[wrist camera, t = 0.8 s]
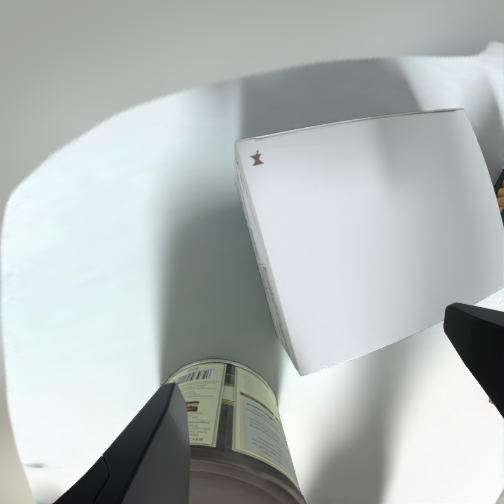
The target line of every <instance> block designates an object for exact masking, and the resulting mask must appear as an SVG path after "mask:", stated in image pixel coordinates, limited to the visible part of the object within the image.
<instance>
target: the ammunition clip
mask: <svg viewBox="0 0 504 504" xmlns="http://www.w3.org/2000/svg"><path fill="white" fill-rule="evenodd" d="M494 192H495V195H496V199H497V202H498V206H499V210H500V214H501V218H502V223H503V227H504V169H503V171H502V173H501V175H500V177H499V179H498V180H497V182H496V184H495V186H494Z"/></svg>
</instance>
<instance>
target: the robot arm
mask: <svg viewBox="0 0 504 504" xmlns="http://www.w3.org/2000/svg"><path fill="white" fill-rule="evenodd" d="M443 328H444V332H445V334H446V335H447V337H448V338H449V340H450V341H451V343H452V345H453V346H454V348H455V349H456V351H457V353H458V354H459V356H460V358H461V359H462V361H463V362H464V364H465V365H466V367H467V368H468V369H469V371H470V372H471V373H472V375H473V376H474V377H475V379H476V380H477V381H478V383H479V384H480V385H481V387H482V388H483V390H484V391H485V392H486V394H487V395H488V397H489V398H490V399H491V401H492V402H493V404H494V405H495V407H496V408H497V409H498V411H499V412H500V414H501V415H502V417H503V418H504V312H502V311H497V310H492V309H487V308H482V307H477V306H473V305H468V304H463V303H458V302H455V303H452V304H450V305H448V306H447V307H446V309H445V316H444V324H443ZM189 475H190V439H189V428H188V415H187V405H186V401H185V399H184V397H183V395H182V393H181V391H180V389H179V387H178V385H177V384H176V383H175V382H172V383H165V384H163V385H161V387H160V388H159V389H158V390H157V391H156V393H155V394H154V395H153V396H152V397H151V398H150V400H149V401H148V402H147V403H146V404H145V406H144V407H143V408H142V409H141V410H140V411H139V413H138V414H137V415H136V416H135V417H134V418H133V420H132V421H131V422H130V423H129V424H128V425H127V427H126V428H125V429H124V430H123V431H122V432H121V434H120V435H119V436H118V437H117V438H116V439H115V441H114V442H113V443H112V444H111V445H110V446H109V448H108V449H107V450H106V451H105V452H104V453H103V456H101V457H100V458H99V459H98V460H97V461H96V462H95V464H94V465H93V466H92V467H91V468H90V469H89V470H88V471H87V472H86V473H85V474H84V475H83V476H82V477H81V478H80V479H79V480H78V481H77V482H76V483H75V484H74V485H73V486H72V487H71V488H70V489H69V490H67V491H66V492H65V493H64V494H63V495H62V496H61V497H60V498H59V499H57V500H56V501H55V502H54V503H53V504H189Z"/></svg>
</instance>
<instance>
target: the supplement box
mask: <svg viewBox="0 0 504 504" xmlns="http://www.w3.org/2000/svg"><path fill="white" fill-rule="evenodd" d="M235 176H236V186H237V190H238V194H239V197H240V201H241V204H242V208H243V212H244V216H245V219H246V223H247V227H248V231H249V234H250V238H251V242H252V246H253V249H254V253H255V257H256V261H257V264H258V268H259V272H260V275H261V279H262V283H263V286H264V290H265V294H266V297H267V301H268V305H269V309H270V312H271V316H272V320H273V323H274V327H275V331H276V334H277V336H278V338H279V340H280V342H281V344H282V345H283V347H284V349H285V351H286V352H287V354H288V356H289V357H290V359H291V361H292V363H293V365H294V366H295V368H296V370H297V371H298V373H299V374H300V376H304V375H308V374H311V373H314V372H317V371H320V370H323V369H326V368H329V367H332V366H335V365H338V364H341V363H344V362H347V361H349V360H352V359H355V358H357V357H360V356H363V355H365V354H368V353H370V352H373V351H375V350H378V349H380V348H383V347H385V346H388V345H390V344H393V343H395V342H397V341H400V340H402V339H404V338H406V337H409V336H411V335H413V334H415V333H418V332H420V331H422V330H424V329H426V328H428V327H431V326H433V325H435V324H437V323H439V322H441V321H443V320H444V316H445V309H446V307H447V306H448V305H450V304H452V303H455V302H458V303H463V304H468V305H474V304H476V303H478V302H480V301H481V300H483V299H485V298H487V297H488V296H490V295H492V294H494V293H495V292H497V291H499V290H500V289H502V288H503V287H504V227H503V223H502V218H501V214H500V210H499V206H498V202H497V199H496V195H495V192H494V188H493V185H492V181H491V178H490V175H489V172H488V169H487V165H486V162H485V160H484V157H483V154H482V151H481V148H480V146H479V143H478V140H477V138H476V135H475V133H474V130H473V128H472V125H471V123H470V121H469V118H468V116H467V114H466V112H465V110H464V109H463V108H454V109H440V110H430V111H416V112H407V113H399V114H390V115H382V116H374V117H366V118H359V119H353V120H346V121H339V122H333V123H327V124H321V125H316V126H310V127H305V128H299V129H294V130H288V131H283V132H278V133H273V134H268V135H262V136H257V137H251V138H245V139H240V140H236V141H235Z"/></svg>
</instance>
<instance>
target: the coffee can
mask: <svg viewBox="0 0 504 504" xmlns="http://www.w3.org/2000/svg"><path fill="white" fill-rule="evenodd" d="M172 382H175V383H176V384H177V385H178V387H179V389H180V391H181V393H182V395H183V397H184V399H185V401H186V405H187V415H188V428H189V439H190V475H189V504H307V503H306V501H305V499H304V497H303V495H302V494H301V491H300V488H299V484H298V481H297V477H296V474H295V470H294V467H293V463H292V459H291V456H290V452H289V449H288V445H287V441H286V437H285V434H284V430H283V426H282V423H281V419H280V416H279V412H278V405H277V400H276V397H275V395H274V393H273V391H272V389H271V387H270V386H269V385H268V383H267V382H266V381H265V380H264V379H263V378H262V377H261V376H260V375H259V374H258V373H256V372H255V371H253V370H252V369H250V368H248V367H246V366H244V365H242V364H240V363H237V362H233V361H229V360H223V359H207V360H201V361H197V362H193V363H191V364H188V365H186V366H184V367H182V368H181V369H179V370H178V371H176V372H175V373H174V374H172V375H171V377H170V378H169V379H168V380H167V382H166V383H172Z"/></svg>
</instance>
